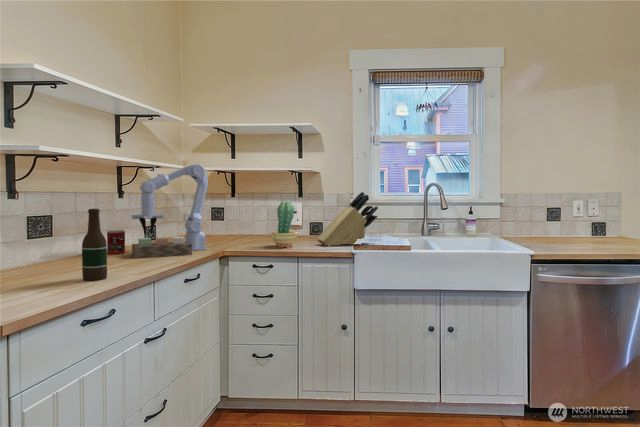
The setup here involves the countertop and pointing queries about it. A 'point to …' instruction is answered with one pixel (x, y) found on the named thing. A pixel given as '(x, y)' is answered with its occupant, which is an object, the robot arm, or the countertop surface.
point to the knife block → (349, 223)
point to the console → (161, 250)
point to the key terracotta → (162, 241)
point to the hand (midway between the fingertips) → (148, 233)
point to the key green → (144, 241)
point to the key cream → (178, 240)
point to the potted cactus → (284, 226)
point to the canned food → (116, 241)
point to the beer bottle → (94, 250)
